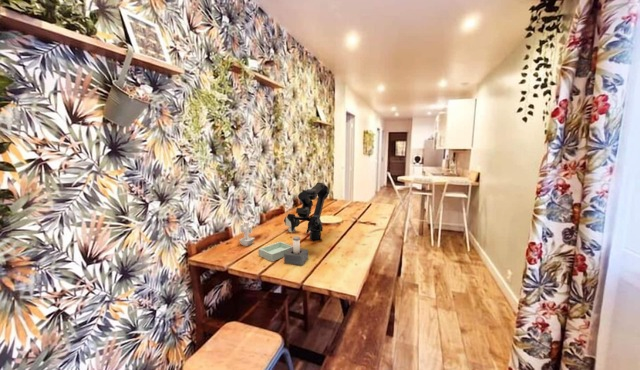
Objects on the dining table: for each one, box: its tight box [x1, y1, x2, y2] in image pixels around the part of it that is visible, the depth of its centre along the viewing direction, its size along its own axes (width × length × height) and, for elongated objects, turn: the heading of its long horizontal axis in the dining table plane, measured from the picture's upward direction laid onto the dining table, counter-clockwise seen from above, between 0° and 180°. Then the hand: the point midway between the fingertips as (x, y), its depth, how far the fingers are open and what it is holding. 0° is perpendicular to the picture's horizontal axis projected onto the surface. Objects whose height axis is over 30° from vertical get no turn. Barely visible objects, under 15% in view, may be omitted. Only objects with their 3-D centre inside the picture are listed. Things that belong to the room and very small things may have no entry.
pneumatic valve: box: [283, 216, 301, 233], centre depth 188 cm, size 6×12×12 cm, turn 53°
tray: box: [258, 241, 293, 262], centre depth 148 cm, size 16×12×4 cm
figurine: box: [238, 220, 256, 247], centre depth 162 cm, size 7×9×15 cm
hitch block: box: [283, 247, 309, 267], centre depth 140 cm, size 10×10×5 cm
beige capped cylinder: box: [292, 236, 301, 254], centre depth 139 cm, size 4×4×13 cm
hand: (299, 232), depth 146 cm, fingers open, 9 cm apart
